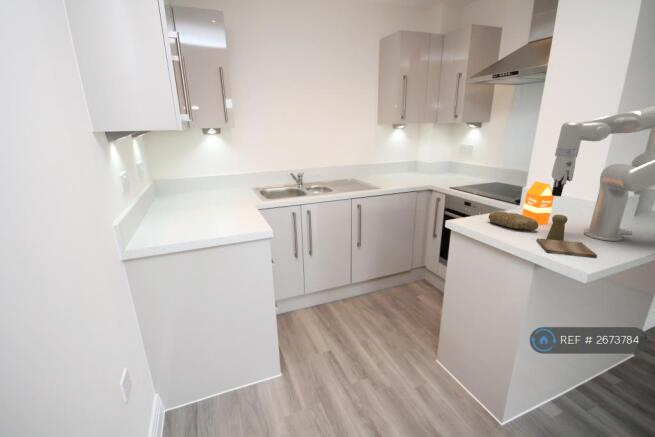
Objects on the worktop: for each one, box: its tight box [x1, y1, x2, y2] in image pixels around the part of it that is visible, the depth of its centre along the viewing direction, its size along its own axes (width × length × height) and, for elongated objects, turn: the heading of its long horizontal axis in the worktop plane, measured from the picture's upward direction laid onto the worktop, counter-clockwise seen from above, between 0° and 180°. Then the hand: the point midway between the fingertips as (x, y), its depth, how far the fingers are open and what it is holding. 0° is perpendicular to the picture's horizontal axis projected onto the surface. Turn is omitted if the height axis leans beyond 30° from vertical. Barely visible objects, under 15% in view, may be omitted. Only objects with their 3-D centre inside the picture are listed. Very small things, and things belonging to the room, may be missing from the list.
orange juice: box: [521, 180, 555, 225], centre depth 153 cm, size 8×9×20 cm
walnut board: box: [536, 237, 598, 259], centre depth 122 cm, size 16×13×1 cm
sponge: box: [488, 210, 539, 231], centre depth 147 cm, size 13×8×20 cm
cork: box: [546, 214, 569, 241], centre depth 130 cm, size 6×6×11 cm
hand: (556, 195), depth 134 cm, fingers closed
